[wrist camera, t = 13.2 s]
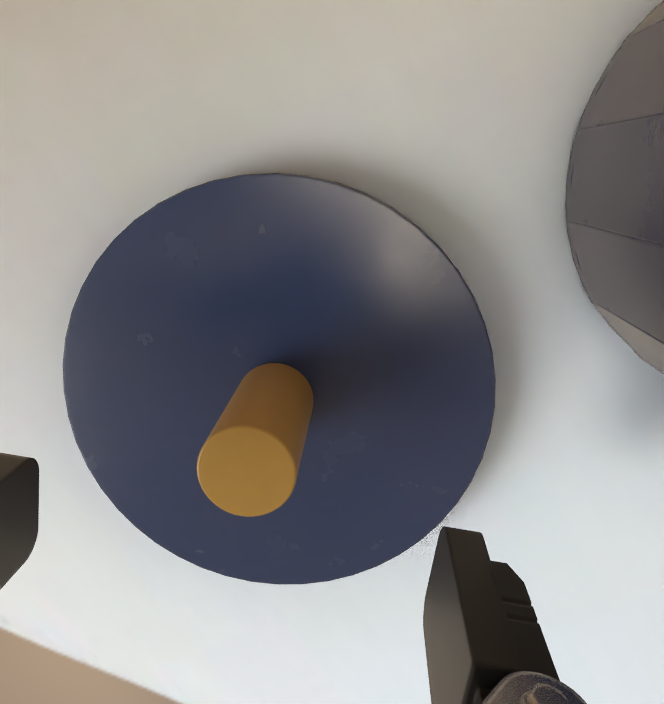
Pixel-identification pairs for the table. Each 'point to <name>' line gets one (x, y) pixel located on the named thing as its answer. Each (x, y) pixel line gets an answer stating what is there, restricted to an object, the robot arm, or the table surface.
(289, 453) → the lid
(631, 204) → the pot
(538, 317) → the table surface
